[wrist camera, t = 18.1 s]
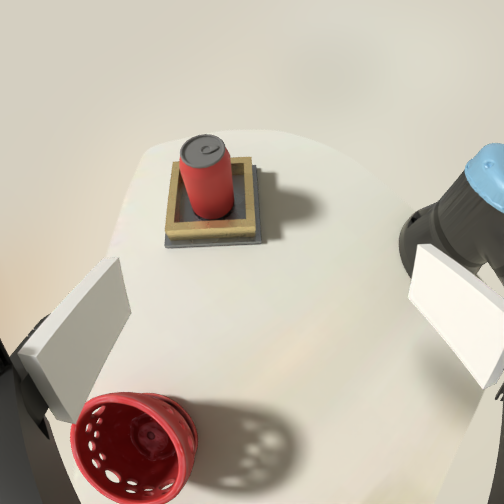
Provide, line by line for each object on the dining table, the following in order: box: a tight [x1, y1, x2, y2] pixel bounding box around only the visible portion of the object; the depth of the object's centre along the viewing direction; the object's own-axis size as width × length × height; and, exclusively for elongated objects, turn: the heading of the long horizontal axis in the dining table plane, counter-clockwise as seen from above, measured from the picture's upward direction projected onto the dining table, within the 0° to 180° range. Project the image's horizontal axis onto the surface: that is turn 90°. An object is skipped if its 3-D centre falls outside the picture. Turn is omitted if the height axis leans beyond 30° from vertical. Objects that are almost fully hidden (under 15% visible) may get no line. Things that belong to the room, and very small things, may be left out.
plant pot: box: [70, 392, 198, 504], centre depth 27 cm, size 13×13×12 cm
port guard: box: [165, 157, 261, 248], centre depth 44 cm, size 14×14×4 cm
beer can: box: [179, 134, 234, 219], centre depth 40 cm, size 7×7×12 cm
